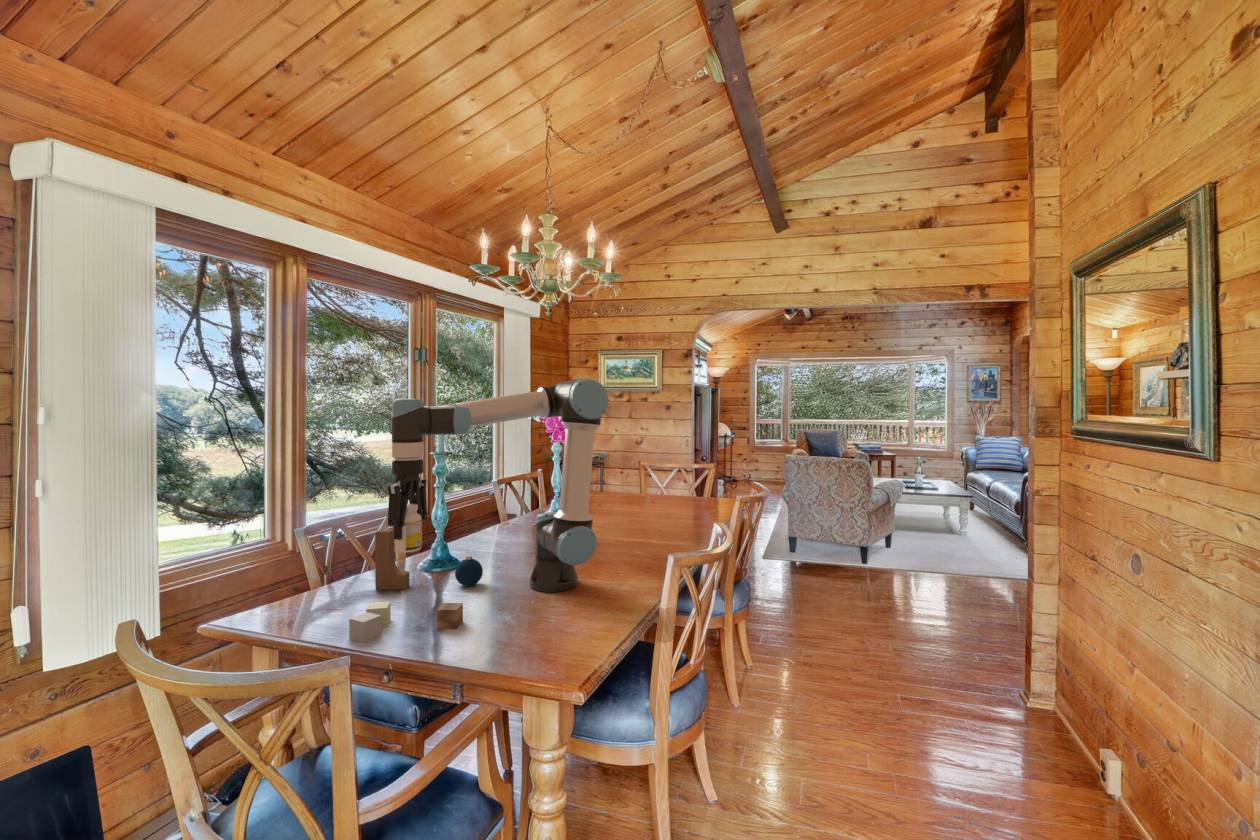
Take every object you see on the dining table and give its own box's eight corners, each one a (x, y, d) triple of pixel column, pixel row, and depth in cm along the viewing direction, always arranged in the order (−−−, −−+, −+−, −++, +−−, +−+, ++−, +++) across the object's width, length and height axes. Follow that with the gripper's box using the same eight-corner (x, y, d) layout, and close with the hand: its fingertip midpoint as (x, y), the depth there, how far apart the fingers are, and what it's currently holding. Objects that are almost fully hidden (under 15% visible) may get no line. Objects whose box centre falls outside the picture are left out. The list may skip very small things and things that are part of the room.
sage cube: (390, 620, 150) (390, 601, 150) (387, 627, 145) (387, 607, 145) (370, 621, 149) (370, 602, 149) (366, 628, 144) (365, 609, 144)
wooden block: (409, 585, 179) (409, 528, 178) (404, 590, 174) (404, 531, 174) (380, 585, 178) (380, 528, 178) (374, 590, 174) (374, 531, 173)
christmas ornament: (486, 586, 178) (486, 554, 178) (460, 591, 173) (460, 558, 173) (477, 579, 185) (477, 549, 184) (451, 584, 180) (451, 552, 180)
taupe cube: (381, 635, 140) (381, 615, 140) (363, 643, 135) (363, 622, 135) (367, 631, 142) (366, 612, 142) (349, 639, 138) (349, 618, 138)
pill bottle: (399, 547, 149) (399, 503, 149) (424, 546, 150) (424, 502, 149) (391, 553, 142) (390, 507, 142) (417, 553, 143) (417, 507, 143)
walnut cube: (462, 621, 149) (462, 603, 149) (456, 629, 144) (456, 609, 144) (443, 621, 149) (443, 602, 149) (437, 629, 144) (437, 609, 144)
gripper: (415, 455, 156) (416, 538, 156) (370, 462, 137) (371, 557, 137) (440, 455, 154) (441, 540, 155) (398, 462, 135) (399, 559, 136)
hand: (408, 548), depth 146 cm, fingers closed on pill bottle, 6 cm apart
